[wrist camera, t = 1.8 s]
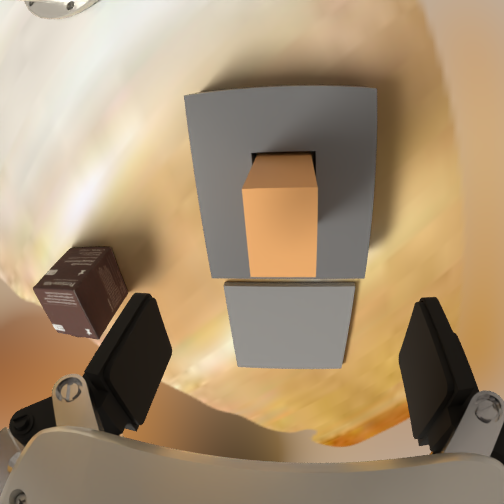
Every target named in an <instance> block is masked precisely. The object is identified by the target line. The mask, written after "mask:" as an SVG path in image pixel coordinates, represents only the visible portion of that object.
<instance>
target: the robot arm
mask: <svg viewBox="0 0 504 504" xmlns="http://www.w3.org/2000/svg"><path fill="white" fill-rule="evenodd" d="M18 1H25V4H26V6H27V8H28V10H29V11H30V12H31V13H33V14H34V15H35V16H37V17H40V18H44V19H62V18H67V17H70V16H73V15H75V14H78V13H80V12H82V11H83V10H85V9H87V8H88V7H90V6H92V5H93V4H94V3H95V2H97V1H98V0H18ZM171 355H172V347H171V344H170V341H169V338H168V335H167V333H166V330H165V327H164V324H163V321H162V318H161V315H160V311H159V308H158V305H157V302H156V299H155V298H152V296H151V295H150V294H147V293H135V294H134V295H133V296H132V297H131V299H130V300H129V302H128V303H127V305H126V306H125V308H124V309H123V311H122V312H121V314H120V315H119V317H118V318H117V320H116V322H115V323H114V325H113V326H112V328H111V329H110V331H109V332H108V334H107V336H106V337H105V339H104V340H103V342H102V343H101V345H100V347H99V348H98V350H97V351H96V353H95V355H94V356H93V358H92V360H91V361H90V363H89V365H88V366H87V368H86V370H85V371H84V372H85V373H84V375H83V377H82V376H80V375H77V374H69V375H66V376H64V377H62V378H60V379H59V380H58V381H57V382H56V383H55V385H54V387H53V389H52V396H51V397H49V398H47V399H44V400H42V401H40V402H37V403H35V404H32V405H30V406H28V407H25V408H23V409H21V410H19V411H17V412H16V413H15V414H14V415H13V416H12V418H11V420H10V424H9V429H7V428H6V427H5V428H3V429H2V430H1V431H0V504H504V401H503V400H502V399H501V397H500V396H499V395H497V394H496V393H494V392H491V391H481V392H479V390H478V387H477V384H476V381H475V379H474V376H473V373H472V370H471V368H470V365H469V363H468V360H467V358H466V355H465V353H464V350H463V348H462V346H461V343H460V341H459V338H458V336H457V335H456V334H455V333H454V332H453V331H452V329H451V327H450V324H449V322H448V320H447V318H446V315H445V313H444V311H443V309H442V307H441V305H440V303H439V301H438V299H437V298H436V297H427V298H421V299H420V301H419V302H416V303H415V306H414V309H413V313H412V316H411V319H410V323H409V326H408V329H407V332H406V335H405V338H404V341H403V344H402V347H401V350H400V353H399V365H400V369H401V374H402V379H403V383H404V388H405V393H406V398H407V403H408V408H409V414H410V419H411V425H412V431H413V437H414V438H415V439H418V443H419V446H423V445H429V446H430V450H431V453H430V455H423V456H415V457H407V458H399V459H389V460H377V461H365V462H347V463H286V462H268V461H255V460H244V459H235V458H226V457H219V456H212V455H206V454H199V453H193V452H188V451H182V450H177V449H172V448H167V447H162V446H158V445H154V444H149V443H145V442H141V441H137V440H133V439H129V438H125V437H123V434H122V433H123V431H124V428H126V429H129V430H133V431H137V429H138V427H139V425H142V424H143V423H144V421H145V418H146V416H147V413H148V411H149V408H150V406H151V403H152V401H153V399H154V396H155V394H156V391H157V388H158V386H159V384H160V382H161V379H162V377H163V374H164V372H165V370H166V367H167V365H168V362H169V360H170V358H171Z"/></svg>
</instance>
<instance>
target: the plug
mask: <svg viewBox="0 0 504 504" xmlns="http://www.w3.org/2000/svg"><path fill="white" fill-rule="evenodd" d="M242 196H243V206H244V216H245V226H246V237H247V247H248V257H249V267H250V277H316V260H317V221H318V186H317V181H316V176H315V171H314V166H313V162H312V157H311V152H310V151H286V152H258V154H257V156H256V158H255V161H254V163H253V165H252V167H251V169H250V172H249V174H248V176H247V178H246V181H245V183H244V185H243V187H242Z"/></svg>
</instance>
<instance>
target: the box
mask: <svg viewBox="0 0 504 504" xmlns="http://www.w3.org/2000/svg"><path fill="white" fill-rule="evenodd" d="M33 290H34V292H35V294H36V296H37V298H38V300H39V301H40V303H41V305H42V307H43V309H44V310H45V312H46V314H47V316H48V317H49V319H50V321H51V322H52V324H53V326H54V328H55V329H56V330H57V332H58V333H63V334H70V335H72V336H76V337H86V338H92V339H100V337H101V335H102V334H103V332H104V331H105V329H106V327H107V325H108V324H109V322H110V321H111V319H112V318H113V316H114V314H115V313H116V311H117V310H118V308H119V307H120V305H121V304H122V302H123V300H124V299H125V297H126V296H127V294H128V291H127V288H126V286H125V283H124V281H123V278H122V276H121V273H120V271H119V268H118V265H117V263H116V260H115V257H114V254H113V251H112V249H111V247H82V248H70V249H69V250H68V251H67V252H66V253H65V254H64V255H63V256H62V257H61V258H60V259H59V260H58V261H57V262H56V263H55V264H54V266H53V267H52V268H51V269H50V270H49V271H48V272H47V273H46V274H45V275H44V276H43V278H42V279H41V280H40V281H39V282H38V283H37V284H36V285H35V286H34V287H33Z"/></svg>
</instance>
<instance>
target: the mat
mask: <svg viewBox="0 0 504 504" xmlns="http://www.w3.org/2000/svg"><path fill="white" fill-rule="evenodd" d="M224 291H225V297H226V303H227V309H228V314H229V320H230V326H231V332H232V337H233V343H234V349H235V354H236V360H237V365H238V367H252V368H280V369H338V368H341V367H342V362H343V357H344V352H345V347H346V341H347V336H348V330H349V324H350V318H351V312H352V305H353V299H354V292H355V283H354V282H343V283H254V282H225V284H224Z"/></svg>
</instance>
